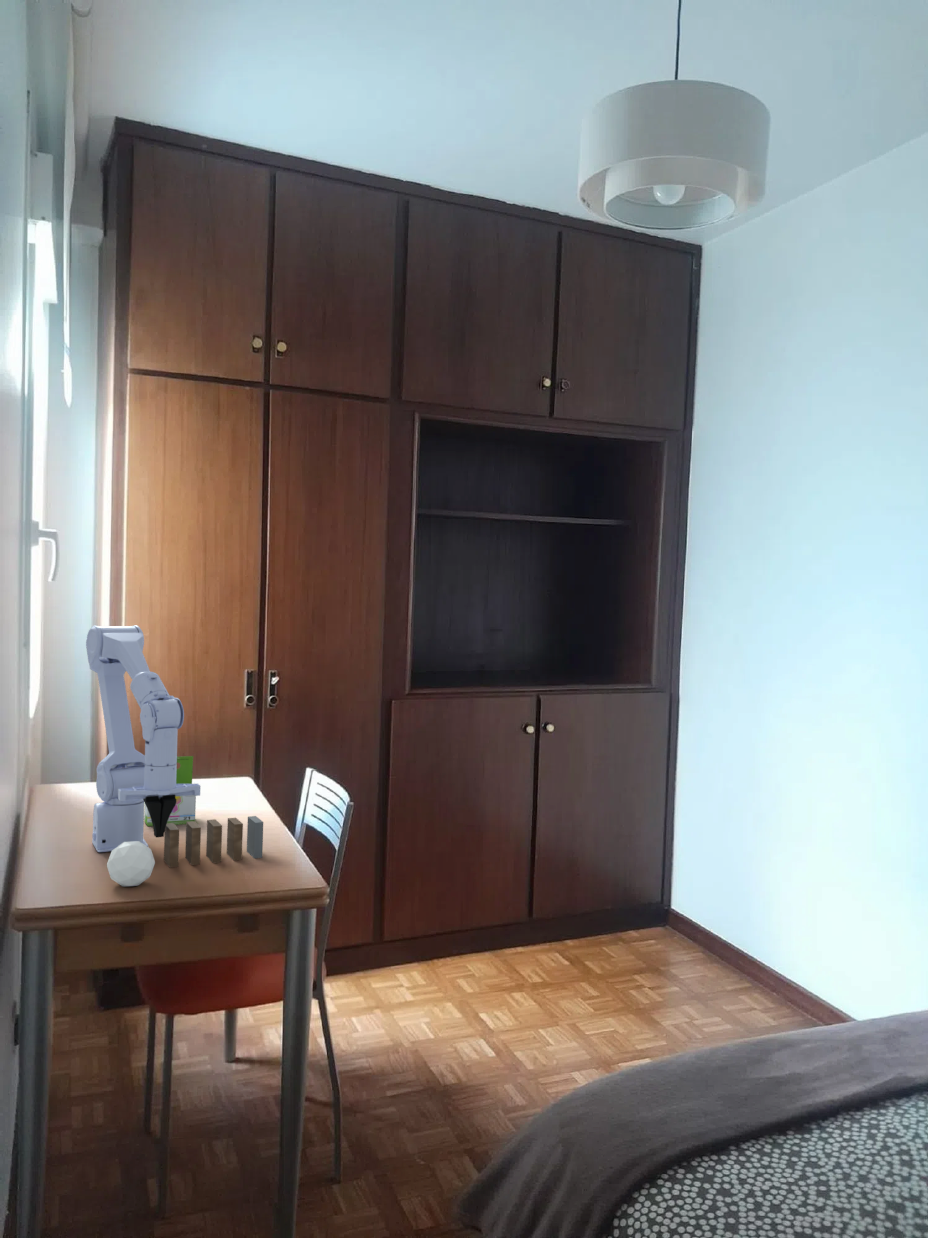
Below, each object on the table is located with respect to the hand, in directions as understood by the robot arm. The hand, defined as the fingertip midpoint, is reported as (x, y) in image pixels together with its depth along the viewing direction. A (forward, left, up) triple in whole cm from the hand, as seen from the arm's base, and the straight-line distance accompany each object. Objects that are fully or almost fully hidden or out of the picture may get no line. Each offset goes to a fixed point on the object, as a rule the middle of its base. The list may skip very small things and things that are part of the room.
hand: (158, 836), depth 179 cm
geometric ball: (-7, -10, -6) cm, 13 cm away
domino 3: (+10, 0, -6) cm, 12 cm away
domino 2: (+6, 0, -6) cm, 8 cm away
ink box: (+8, +30, -6) cm, 32 cm away
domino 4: (+14, 0, -6) cm, 15 cm away
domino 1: (+2, 0, -6) cm, 6 cm away
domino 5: (+18, 0, -6) cm, 19 cm away
